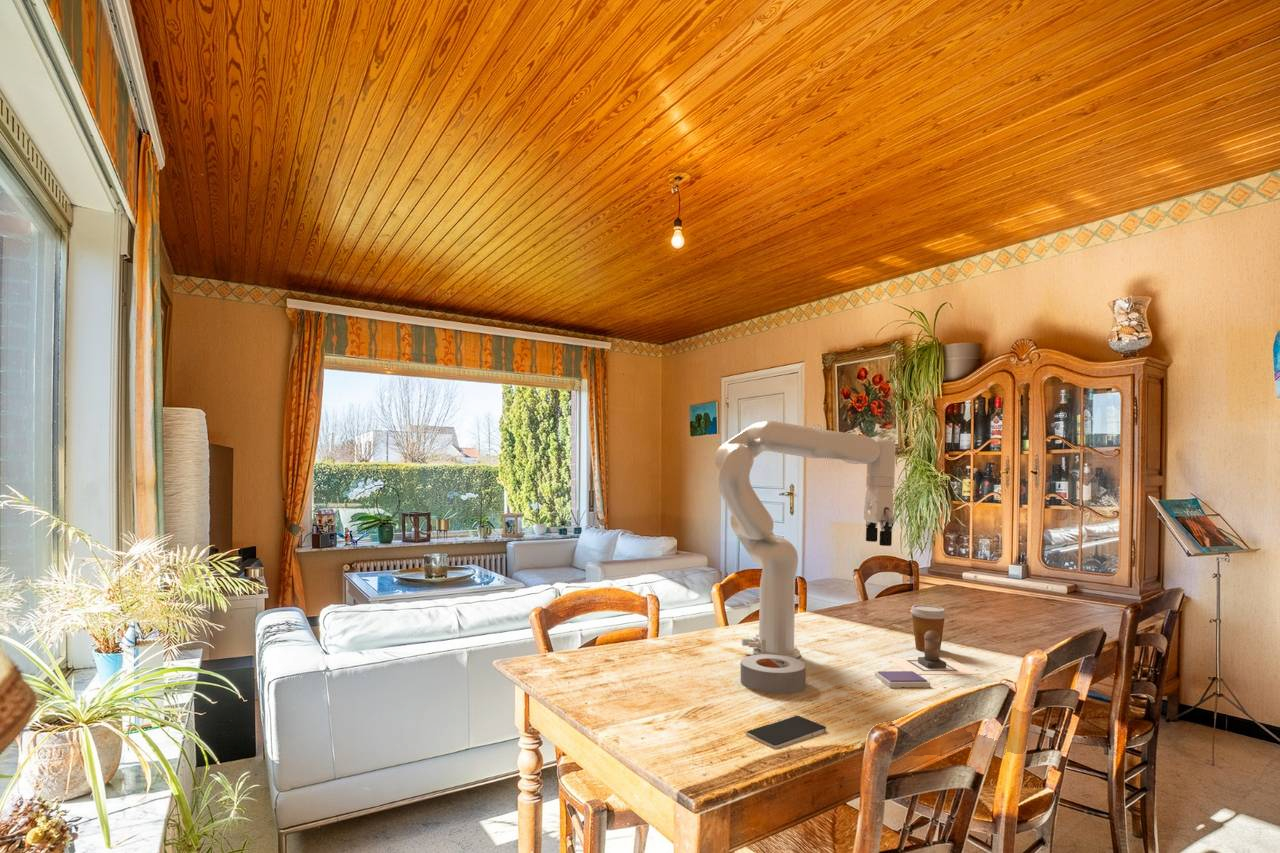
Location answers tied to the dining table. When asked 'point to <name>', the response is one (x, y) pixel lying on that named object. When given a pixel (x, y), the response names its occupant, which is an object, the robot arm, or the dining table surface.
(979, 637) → the dining table surface
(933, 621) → the disposable coffee cup
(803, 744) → the dining table surface
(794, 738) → the smartphone
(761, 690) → the tape roll
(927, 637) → the stamp
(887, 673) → the ink pad
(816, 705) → the dining table surface
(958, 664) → the sheet
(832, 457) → the robot arm
